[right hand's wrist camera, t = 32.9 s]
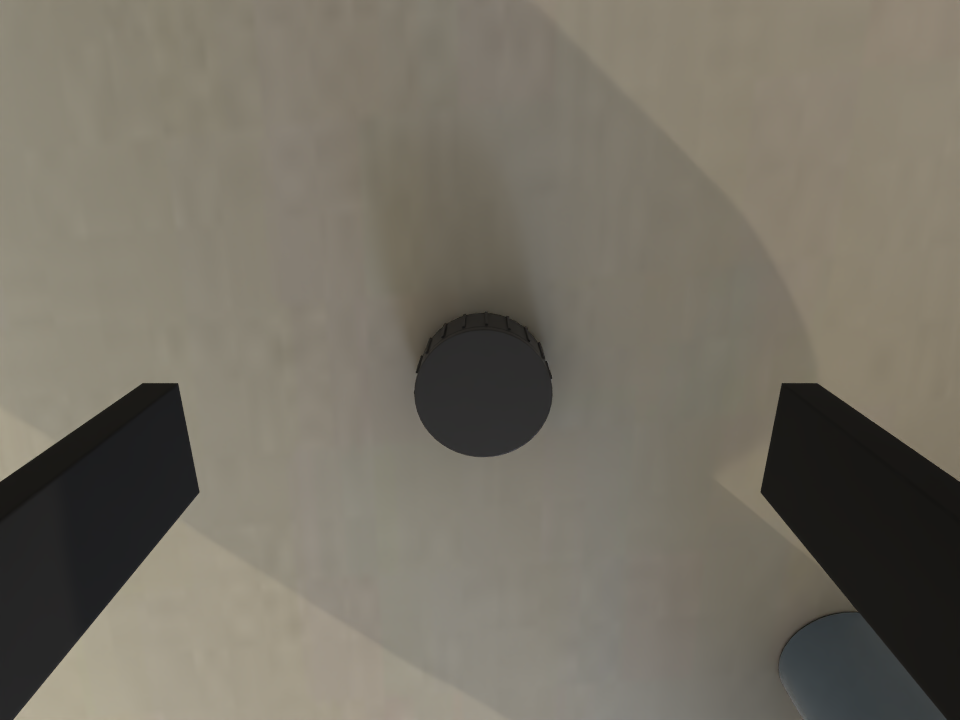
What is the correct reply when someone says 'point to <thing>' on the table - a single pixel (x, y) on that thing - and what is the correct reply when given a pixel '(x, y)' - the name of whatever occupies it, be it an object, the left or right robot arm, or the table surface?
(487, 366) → the cap
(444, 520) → the table surface
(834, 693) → the bottle
